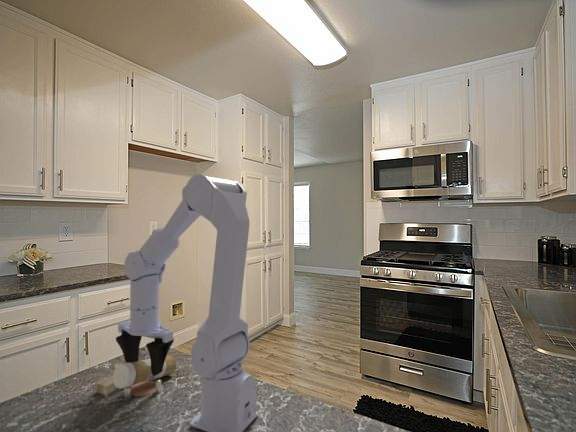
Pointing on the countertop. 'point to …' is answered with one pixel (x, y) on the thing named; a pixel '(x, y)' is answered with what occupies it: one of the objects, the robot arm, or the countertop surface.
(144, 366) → the sprinkles bottle
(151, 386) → the wooden bar with disc
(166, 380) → the countertop surface
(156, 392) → the guide pins
